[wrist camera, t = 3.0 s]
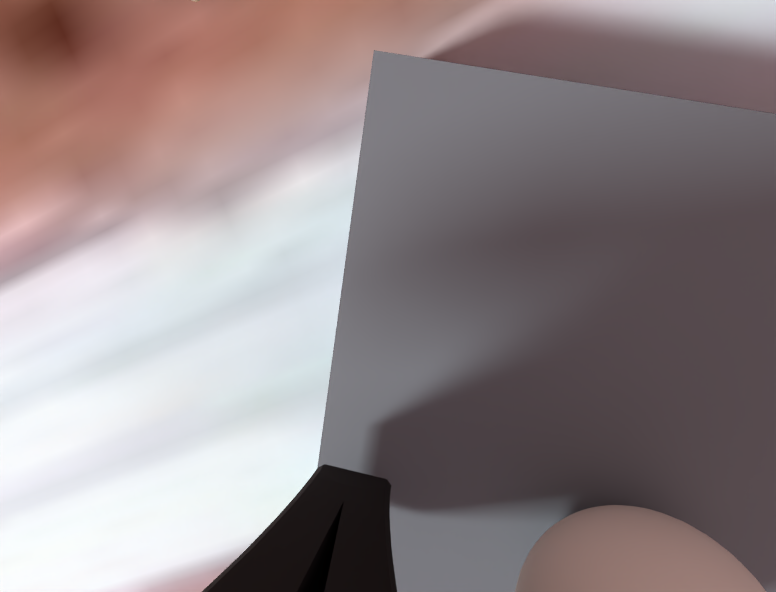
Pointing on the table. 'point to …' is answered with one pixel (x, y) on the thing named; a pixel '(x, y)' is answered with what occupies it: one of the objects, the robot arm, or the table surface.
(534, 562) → the ball
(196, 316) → the table surface
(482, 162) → the plate
